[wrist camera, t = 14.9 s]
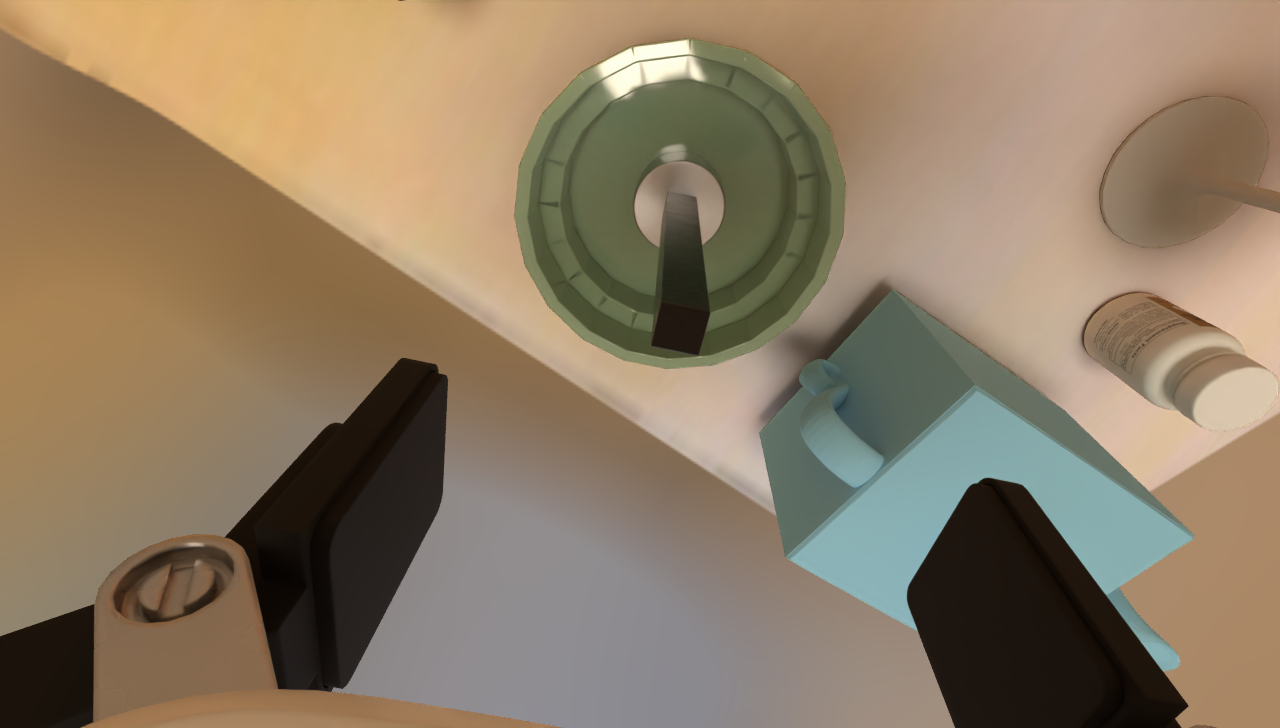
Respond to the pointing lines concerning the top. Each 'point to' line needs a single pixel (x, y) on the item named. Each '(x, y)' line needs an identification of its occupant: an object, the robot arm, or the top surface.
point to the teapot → (943, 465)
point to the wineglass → (1186, 172)
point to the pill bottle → (1180, 362)
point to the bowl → (751, 181)
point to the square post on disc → (679, 244)
